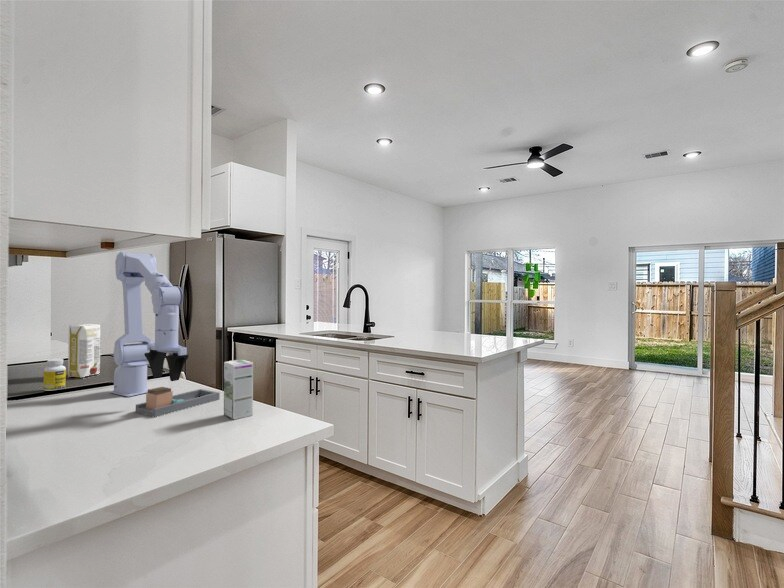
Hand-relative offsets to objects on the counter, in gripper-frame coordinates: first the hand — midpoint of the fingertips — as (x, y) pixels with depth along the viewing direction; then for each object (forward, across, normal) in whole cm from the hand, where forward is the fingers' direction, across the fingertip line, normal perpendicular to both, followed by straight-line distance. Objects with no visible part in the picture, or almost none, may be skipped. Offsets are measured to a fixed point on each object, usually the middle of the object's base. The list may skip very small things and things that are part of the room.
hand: (166, 378), depth 112 cm
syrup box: (+8, +22, +6) cm, 24 cm away
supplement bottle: (+9, -46, -6) cm, 48 cm away
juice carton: (+9, -60, +9) cm, 62 cm away
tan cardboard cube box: (+8, +1, -2) cm, 9 cm away
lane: (+8, +1, +4) cm, 9 cm away
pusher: (+8, +1, +2) cm, 8 cm away
